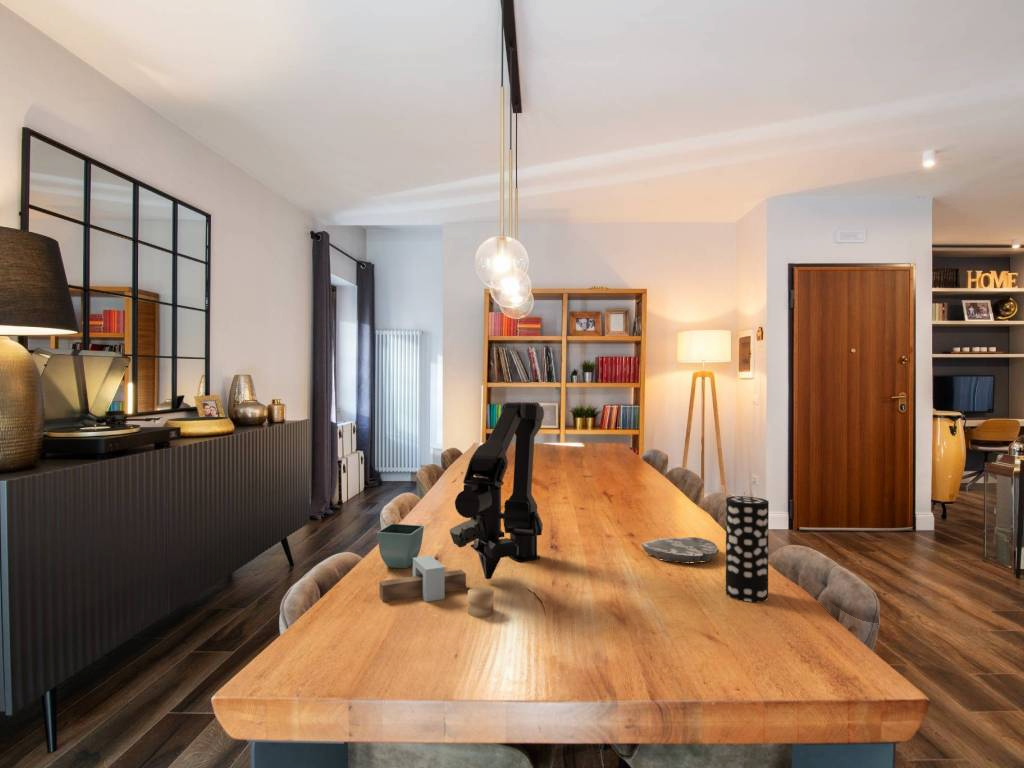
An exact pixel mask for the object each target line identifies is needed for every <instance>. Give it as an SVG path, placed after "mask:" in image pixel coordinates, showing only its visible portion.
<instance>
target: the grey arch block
mask: <svg viewBox="0 0 1024 768" xmlns="http://www.w3.org/2000/svg"><path fill="white" fill-rule="evenodd" d="M445 568H446V567H445V566H444V565H443V564H441V563H440V562H439V560H437V559H436V558H434V557H433V556H432V555H424V556H417V557H415V558H413V563H412V577H413V576H420V575H423V596H422V600H424V602H433V601H439V600H440V601H441V600H444V599H445V592H444V587H445V572H446V570H445Z"/></svg>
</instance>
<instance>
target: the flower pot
mask: <svg viewBox="0 0 1024 768" xmlns="http://www.w3.org/2000/svg"><path fill="white" fill-rule="evenodd" d="M424 527H425V526H424V525H420V524H417V525H416V524H405V523H404V524H402V523H390V524H388V525H387V526H385V527H383V528H382V529H379V530H378V531H377V532H376V534H377V540H378V541H377V542H378V549H379V550H378V551H379V554H380V558H381V559H382V561H383V563H384V564H385V566H386V567H387V568H397V569H408V568H409V567H410V566H411V565H413V558H415V557H419V554H420V551H421V548H422V544H423V543H422V542H423V538H424V537H423V535H424Z"/></svg>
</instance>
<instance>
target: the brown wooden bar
mask: <svg viewBox="0 0 1024 768" xmlns="http://www.w3.org/2000/svg"><path fill="white" fill-rule="evenodd" d="M466 588H467V573H466V572H465V571H464V570H462V569H457V570H449V571H445V587H444V593H446V592H452V591H461V590H465V589H466ZM378 596H379V597H378V598H379V599H380V600H381V601H382V603H384V602H385V601H386V602H390V601H398V600H404V599H411V598H416V597H423V575H420V576H413V575H412V576H406V577H399V578H394V579H393V578H392V579H387V580H380V581H379V595H378ZM386 602H385V603H386Z"/></svg>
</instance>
